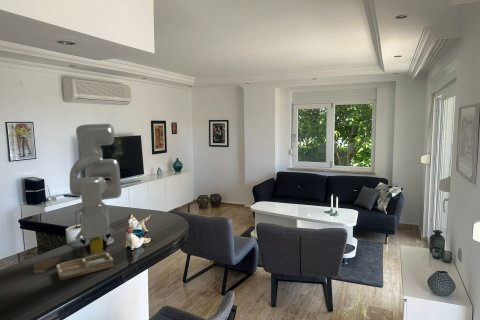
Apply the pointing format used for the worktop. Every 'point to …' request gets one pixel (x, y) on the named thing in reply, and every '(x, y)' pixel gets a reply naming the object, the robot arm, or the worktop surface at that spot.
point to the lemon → (96, 245)
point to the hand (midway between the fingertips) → (96, 251)
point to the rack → (84, 265)
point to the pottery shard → (45, 265)
